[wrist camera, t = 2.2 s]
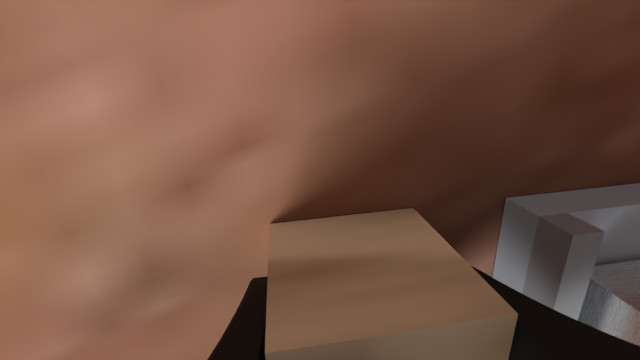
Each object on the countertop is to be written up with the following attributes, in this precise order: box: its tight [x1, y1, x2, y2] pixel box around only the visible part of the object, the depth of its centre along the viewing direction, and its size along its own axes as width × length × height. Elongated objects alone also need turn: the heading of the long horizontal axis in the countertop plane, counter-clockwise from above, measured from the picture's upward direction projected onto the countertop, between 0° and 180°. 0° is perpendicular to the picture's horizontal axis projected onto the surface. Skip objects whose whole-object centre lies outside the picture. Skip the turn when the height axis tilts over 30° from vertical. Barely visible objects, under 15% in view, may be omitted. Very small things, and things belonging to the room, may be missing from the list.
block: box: [265, 208, 518, 360], centre depth 9 cm, size 4×5×5 cm
